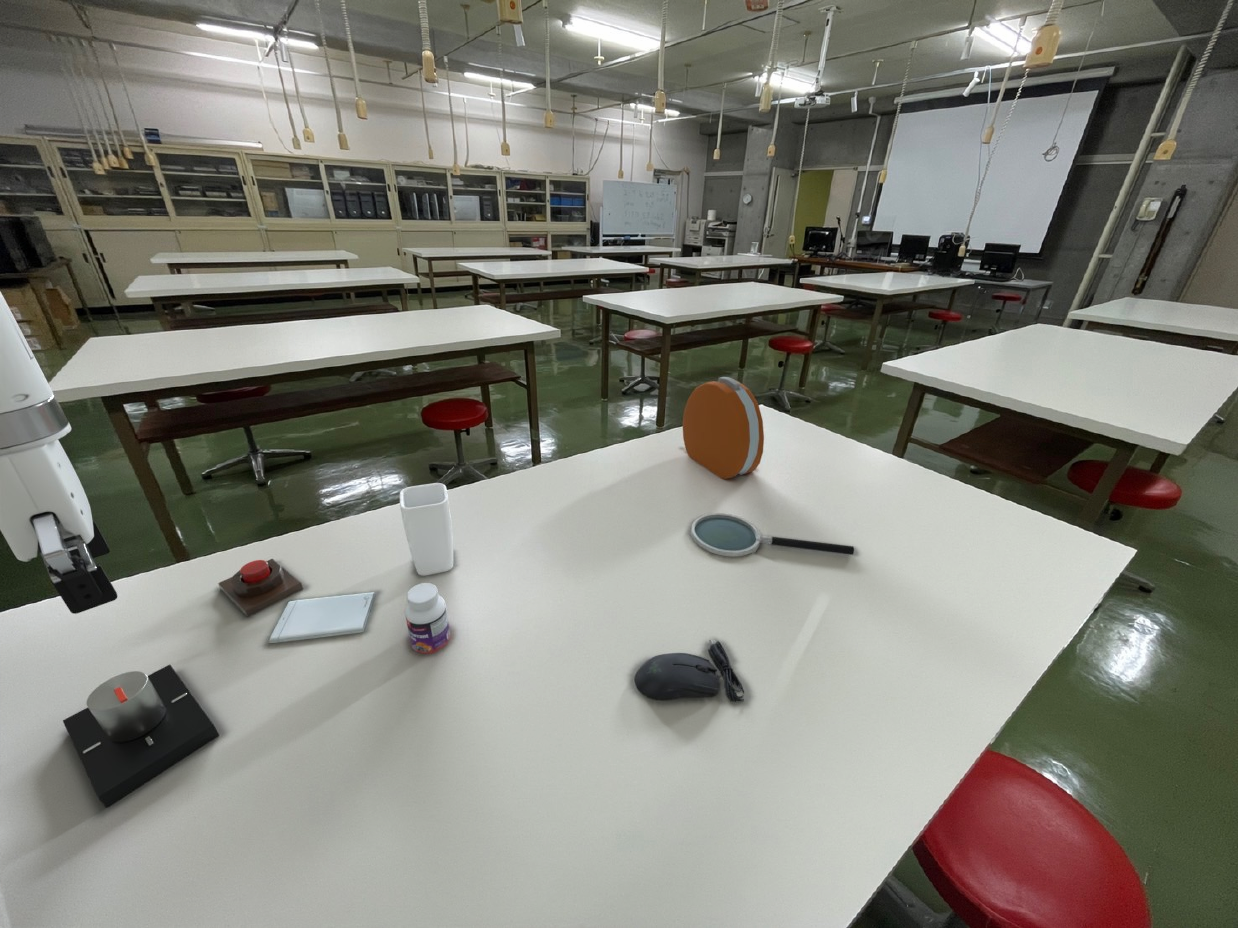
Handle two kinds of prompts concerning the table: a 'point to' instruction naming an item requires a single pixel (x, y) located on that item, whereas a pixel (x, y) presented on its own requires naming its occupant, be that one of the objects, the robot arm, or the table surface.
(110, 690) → the knob
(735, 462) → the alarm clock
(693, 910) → the table surface
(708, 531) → the magnifying glass
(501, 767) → the table surface
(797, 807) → the table surface
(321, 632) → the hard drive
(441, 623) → the pill bottle
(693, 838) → the table surface
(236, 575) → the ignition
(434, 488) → the cup
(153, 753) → the rotary dial switch
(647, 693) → the computer mouse
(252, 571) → the button
